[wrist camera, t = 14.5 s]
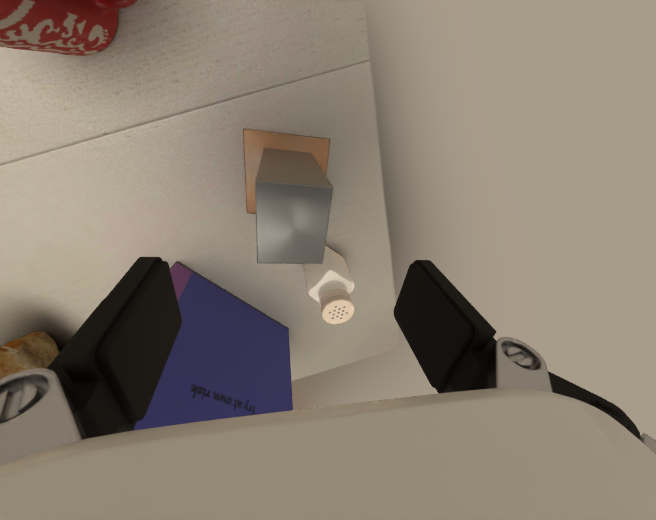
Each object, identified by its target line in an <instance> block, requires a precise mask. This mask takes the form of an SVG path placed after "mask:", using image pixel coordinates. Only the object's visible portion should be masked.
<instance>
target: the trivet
mask: <svg viewBox="0 0 656 520" xmlns="http://www.w3.org/2000/svg"><path fill="white" fill-rule="evenodd" d="M243 136H244V158H245V180H246V202H247V213H251V214H256V191H255V181H256V177H257V173H258V169H259V165H260V161H261V157H262V153H263V149H264V148H268V149H278V150H288V151H297V152H307V153H311V154H312V155H313V157H314V158H315V160H316V162H317V163H318V165H319V166H320V168H321V169H322V171H323V172H324V174H325V176H326V171H327V162H328V153H329V145H330V139H326V138H318V137H309V136H300V135H292V134H283V133H275V132H266V131H258V130H249V129H243Z"/></svg>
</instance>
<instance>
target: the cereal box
mask: <svg viewBox="0 0 656 520" xmlns="http://www.w3.org/2000/svg"><path fill="white" fill-rule="evenodd" d="M170 272H171V276H172V280H173V284H174V288H175V292H176V296H177V300H178V304H179V308H180V312H181V316H182V324H181V327H180V330H179V332H178V335H177V337H176V340H175V342H174V345H173V347H172V350H171V352H170V355H169V357H168V360H167V362H166V365H165V367H164V370H163V372H162V375H161V377H160V380H159V382H158V385H157V387H156V390H155V392H154V395H153V397H152V400H151V402H150V405H149V407H148V410H147V412H146V415H145V417H144V418H143V419H142V420H141V421H137V423H136V425H135V428H134V430H142V429H149V428H156V427H163V426H171V425H178V424H185V423H192V422H200V421H209V420H217V419H225V418H233V417H242V416H250V415H258V414H266V413H274V412H283V411H291V410H293V406H292V387H291V369H290V350H289V332H288V328H287V327H285V326H284V325H282V324H280V323H279V322H277V321H275V320H274V319H272V318H270V317H269V316H267V315H265V314H264V313H262V312H260V311H259V310H257V309H255V308H254V307H252V306H250V305H249V304H247V303H245V302H244V301H242V300H241V299H239V298H237V297H236V296H234V295H232V294H231V293H229V292H227V291H226V290H224V289H222V288H221V287H219V286H217V285H216V284H214V283H212V282H211V281H209V280H207V279H206V278H204V277H203V276H201V275H199V274H198V273H196V272H194V271H193V270H191V269H189V268H188V267H186V266H184V265H183V264H181V263H179V262H178V261H177V262H176V263H175V264H174V265H173V266H172V267H171V268H170ZM134 430H133V431H134Z"/></svg>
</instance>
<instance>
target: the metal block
mask: <svg viewBox="0 0 656 520" xmlns="http://www.w3.org/2000/svg"><path fill="white" fill-rule="evenodd" d="M255 191H256V229H257V263H291V264H323V259H324V252H325V244H326V236H327V229H328V221H329V214H330V206H331V199H332V191H333V186H332V185H331V183H330V182H329V180H328V179H327V177H326V176H325V174H324V172H323V171H322V169H321V168H320V166H319V165H318V163H317V162H316V160H315V158H314V157H313V155H312V154H311V153H307V152H297V151H288V150H278V149H268V148H264V149H263V153H262V157H261V161H260V165H259V169H258V173H257V177H256V181H255Z"/></svg>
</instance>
